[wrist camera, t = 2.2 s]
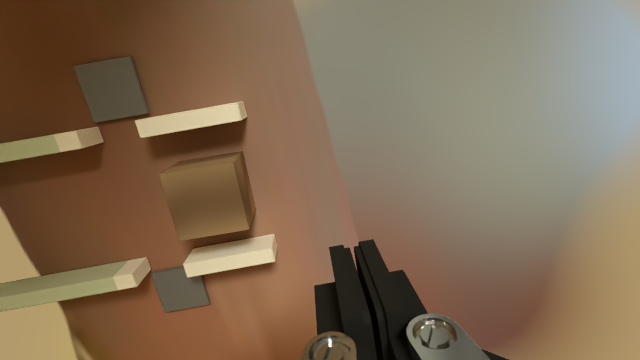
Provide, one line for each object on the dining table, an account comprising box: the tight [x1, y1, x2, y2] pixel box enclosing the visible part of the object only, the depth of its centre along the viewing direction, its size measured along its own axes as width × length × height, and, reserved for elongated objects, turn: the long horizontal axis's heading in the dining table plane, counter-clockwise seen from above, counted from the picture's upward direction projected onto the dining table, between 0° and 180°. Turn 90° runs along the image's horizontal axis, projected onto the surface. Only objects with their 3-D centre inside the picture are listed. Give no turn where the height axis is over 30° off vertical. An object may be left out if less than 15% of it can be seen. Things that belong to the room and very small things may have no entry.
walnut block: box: [159, 151, 256, 241], centre depth 24 cm, size 5×5×4 cm
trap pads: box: [73, 56, 210, 312], centre depth 25 cm, size 21×4×1 cm, turn 9°
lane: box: [0, 101, 277, 312], centre depth 24 cm, size 12×25×2 cm, turn 99°
